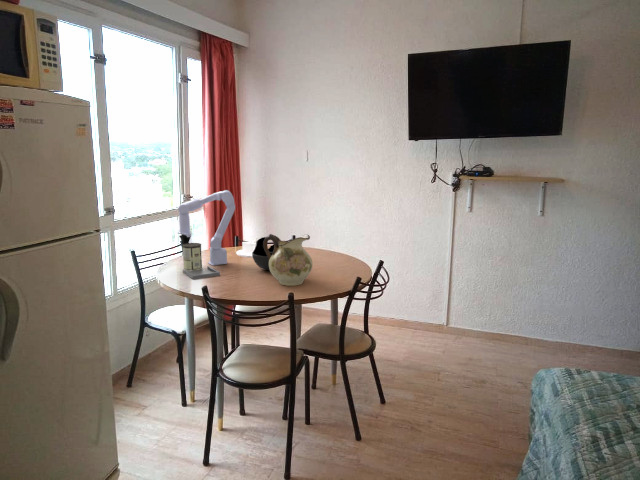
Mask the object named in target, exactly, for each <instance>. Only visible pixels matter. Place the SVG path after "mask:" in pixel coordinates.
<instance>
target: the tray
mask: <svg viewBox="0 0 640 480" xmlns="http://www.w3.org/2000/svg"><path fill="white" fill-rule="evenodd" d="M182 273H183V274H184V275H186V276H187V277H188V278H190V279H191V280H196V279H197V280H198V279H203V278H204V279H205V278H211V277H218V276H219V277H220V275H221V272H220V271H219V270H217V269H215V268H213V267H211V266H210V265H207V266H206V268H204V269H203V268H202V269H200V270H195V271H186V270H185V269H184V268H183V269H182Z"/></svg>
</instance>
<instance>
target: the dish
mask: <svg viewBox="0 0 640 480" xmlns="http://www.w3.org/2000/svg"><path fill="white" fill-rule="evenodd" d="M261 238H263V237H262V236H261ZM258 240H259V239H258V238H256V239H253V241H242V242H241V245H242V247H241V249H238V250H236V255H237V256H238V257H243V258H253V256H252V252H253V251H254V249H255V247H256V242H257V241H258Z"/></svg>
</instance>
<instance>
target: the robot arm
mask: <svg viewBox="0 0 640 480" xmlns="http://www.w3.org/2000/svg"><path fill="white" fill-rule="evenodd" d="M213 201H222V202H223V203H224V205H225V207H226V209H225V211H224V213H223V216H222V219H221V221H220V223H219V225H218V228H217V230H216V232H215V234H214V236H212V237H211V238H210V241H209V242H210V245H209V246H210V248H209V257H210V258H209V261H208V262H207V264H209V265H211V266H218V265H224V264H225V265H227V264H228V253H227V249H226V248H225V247H222V240H223V237H224V235H225V233H226V232H227V229H228V226H229V223H230V221H231V220H232V218H233V215H234V213H235V210H236V204H235V198H234V196H233V194H232V192H231V191H230V190H228V189H225V190H222V191H217V192H214V193H212V194H210V195H207V196H205V197H202V198H199V197H198V198H197V197H194V198H193V199H192V200H189V201H185V202H183V203H181V204H180V205H179V206H178V210H177V211H178V218H179V219H178V222H179V223H178V224H179V232H177V234H178V236H179V238H180V241H181V243H182V245H183V244H187V243H190V240H191V238H192V233H191V227H190V226H191V225H190V224H191V223H190V212H193V211H195V210H196V211H197V209H201V208H202V206H203V205H204V204H208V203H211V202H213Z"/></svg>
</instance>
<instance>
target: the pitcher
mask: <svg viewBox="0 0 640 480" xmlns="http://www.w3.org/2000/svg"><path fill="white" fill-rule="evenodd" d="M265 237H266V238H265V239H264V241H263V247H264V250H265V253H266V254H267V257H268V259H269V269H270V270H269V272H270V274H271V275H272V276H273V277H274V278H275V279H276V280H277V281H278V283H279V285H282V286H286V287H292V286H295V287H296V286H300V285H302V284H303V283H304V280H306V278H308V276H309V275H310V274H311V271H312V269H313V258H312V257H311V255H310V254H309V253H308V251H306V249H305V248H304V247H303V246H302V245H303V243H304V242H305V241H308V240H310V238H311V236H310V235H309V234H308V233H307V234H303V235H301V236H300V237H296V238H293V239H290V240H288V241H287V240H281V238H279V237H278V236H276V235H275V234H272V233H269V234H268V235H267V236H265ZM269 241H272V243H273V244H274V250H273V254H272V256H271V255H270V252H269V250H268V249H269V246H268V243H269ZM278 245H279V246H278Z"/></svg>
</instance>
